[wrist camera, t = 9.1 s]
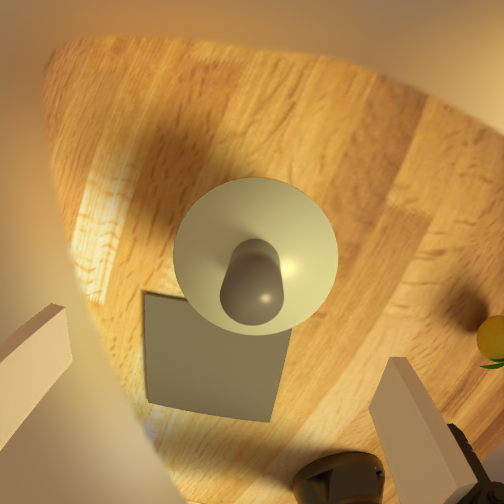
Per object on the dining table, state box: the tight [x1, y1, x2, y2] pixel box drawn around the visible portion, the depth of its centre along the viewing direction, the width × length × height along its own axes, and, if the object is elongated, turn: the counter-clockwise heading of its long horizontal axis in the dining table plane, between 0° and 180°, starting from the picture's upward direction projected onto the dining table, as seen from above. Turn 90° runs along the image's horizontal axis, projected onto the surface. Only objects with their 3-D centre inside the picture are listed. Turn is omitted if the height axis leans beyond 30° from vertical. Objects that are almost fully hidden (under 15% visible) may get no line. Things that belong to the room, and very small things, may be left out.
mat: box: [145, 293, 292, 422], centre depth 36 cm, size 16×16×1 cm
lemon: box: [477, 315, 504, 369], centre depth 29 cm, size 7×6×10 cm
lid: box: [173, 177, 338, 335], centre depth 21 cm, size 12×12×7 cm
